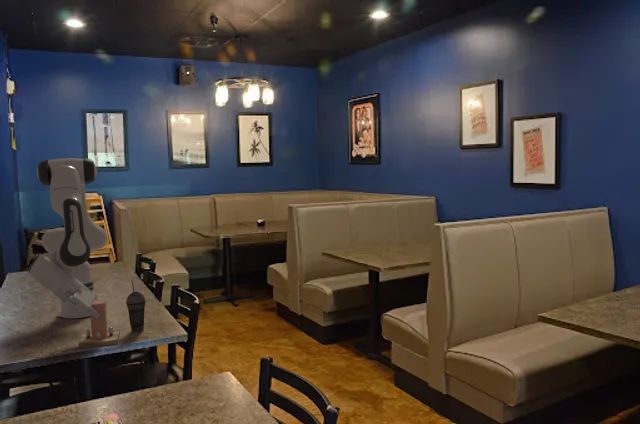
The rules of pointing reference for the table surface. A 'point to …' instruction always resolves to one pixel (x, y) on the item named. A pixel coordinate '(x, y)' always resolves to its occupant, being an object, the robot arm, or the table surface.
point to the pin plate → (99, 338)
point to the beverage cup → (136, 310)
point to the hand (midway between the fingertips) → (100, 313)
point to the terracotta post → (99, 319)
